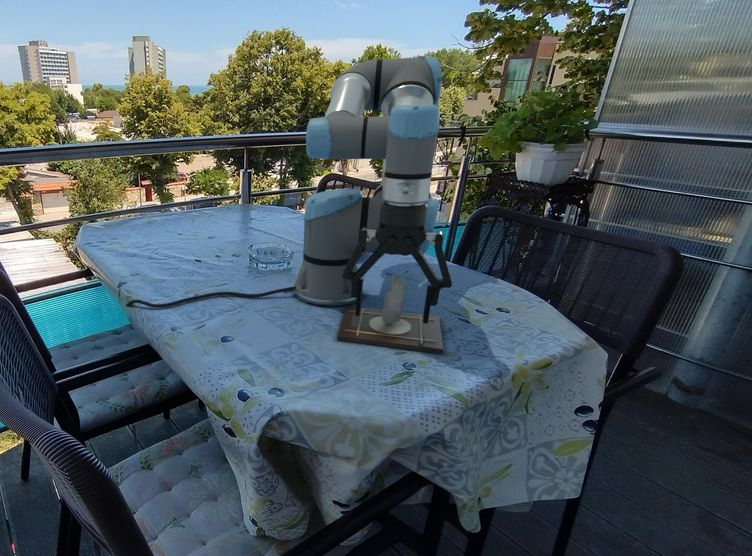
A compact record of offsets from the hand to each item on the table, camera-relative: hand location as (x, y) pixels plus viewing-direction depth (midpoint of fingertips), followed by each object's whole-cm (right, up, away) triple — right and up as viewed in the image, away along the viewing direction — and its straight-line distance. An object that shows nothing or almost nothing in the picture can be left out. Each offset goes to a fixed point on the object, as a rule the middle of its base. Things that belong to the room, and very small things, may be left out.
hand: (390, 316), depth 88 cm
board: (0, -3, +1) cm, 3 cm away
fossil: (0, -2, +1) cm, 2 cm away
